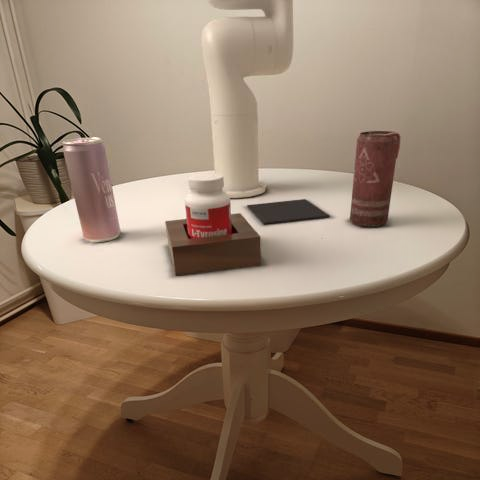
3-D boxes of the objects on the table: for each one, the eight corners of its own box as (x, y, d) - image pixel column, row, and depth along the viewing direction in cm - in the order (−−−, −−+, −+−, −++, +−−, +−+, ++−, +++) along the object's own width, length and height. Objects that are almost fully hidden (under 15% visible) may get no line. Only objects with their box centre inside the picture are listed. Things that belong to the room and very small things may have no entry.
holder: (168, 246, 65) (165, 221, 63) (241, 237, 67) (240, 212, 65) (175, 276, 55) (171, 246, 53) (261, 264, 57) (260, 236, 55)
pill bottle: (188, 264, 58) (180, 182, 53) (191, 248, 64) (183, 172, 58) (233, 262, 58) (229, 180, 53) (232, 246, 64) (228, 170, 58)
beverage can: (105, 229, 74) (86, 136, 66) (128, 234, 71) (111, 138, 63) (76, 239, 70) (52, 141, 62) (99, 245, 66) (77, 143, 59)
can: (390, 228, 68) (404, 134, 61) (349, 227, 69) (358, 135, 62) (387, 217, 73) (399, 129, 66) (349, 216, 74) (357, 130, 67)
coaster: (247, 207, 82) (247, 205, 82) (305, 201, 85) (305, 199, 84) (263, 224, 72) (263, 222, 72) (329, 217, 74) (329, 215, 74)
